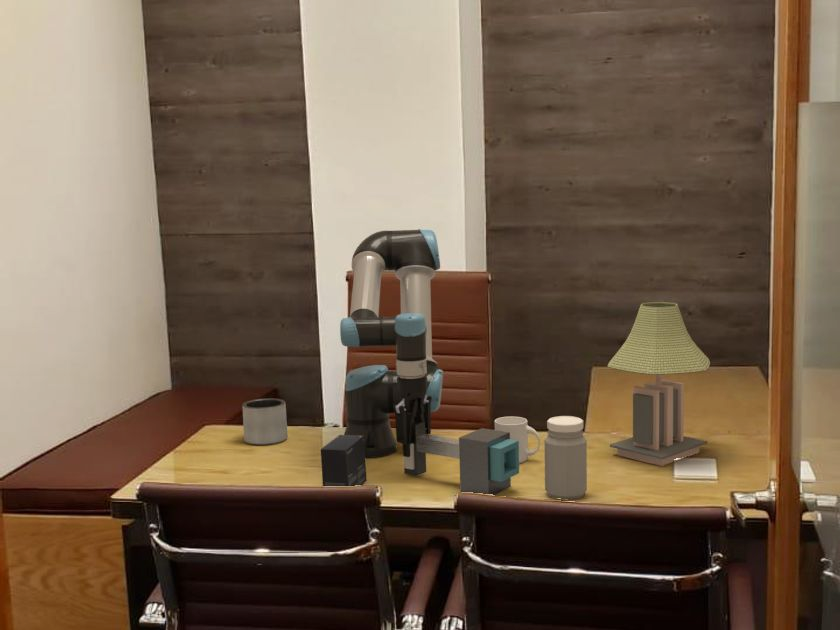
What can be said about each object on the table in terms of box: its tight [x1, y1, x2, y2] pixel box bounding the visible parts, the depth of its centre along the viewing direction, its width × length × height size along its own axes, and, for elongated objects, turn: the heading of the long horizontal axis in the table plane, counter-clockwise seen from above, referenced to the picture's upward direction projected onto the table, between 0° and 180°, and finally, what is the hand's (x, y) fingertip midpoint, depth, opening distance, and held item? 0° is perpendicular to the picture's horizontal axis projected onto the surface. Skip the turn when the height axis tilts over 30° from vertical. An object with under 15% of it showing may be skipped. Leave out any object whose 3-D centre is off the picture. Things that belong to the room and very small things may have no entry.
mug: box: [494, 416, 541, 464], centre depth 270 cm, size 9×12×11 cm
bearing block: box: [458, 427, 512, 496], centre depth 246 cm, size 8×10×14 cm
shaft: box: [403, 420, 506, 477], centre depth 252 cm, size 28×4×13 cm, turn 54°
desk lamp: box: [607, 301, 711, 467], centre depth 270 cm, size 26×28×40 cm
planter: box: [242, 397, 288, 446], centre depth 297 cm, size 12×13×11 cm
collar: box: [490, 439, 520, 482], centre depth 243 cm, size 3×8×8 cm, turn 144°
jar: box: [543, 415, 588, 500], centre depth 241 cm, size 10×10×18 cm
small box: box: [320, 434, 368, 487], centre depth 251 cm, size 13×7×12 cm, turn 163°
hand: (414, 465), depth 259 cm, fingers closed on shaft, 4 cm apart
